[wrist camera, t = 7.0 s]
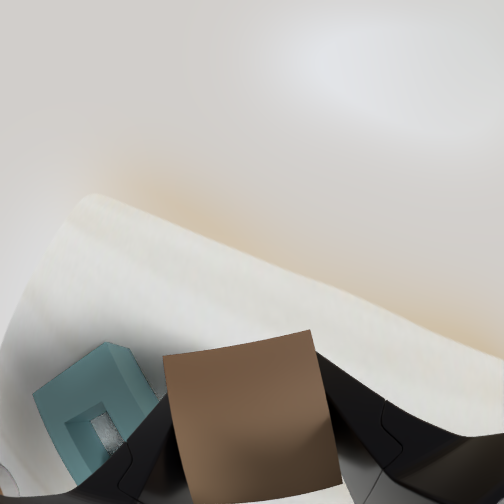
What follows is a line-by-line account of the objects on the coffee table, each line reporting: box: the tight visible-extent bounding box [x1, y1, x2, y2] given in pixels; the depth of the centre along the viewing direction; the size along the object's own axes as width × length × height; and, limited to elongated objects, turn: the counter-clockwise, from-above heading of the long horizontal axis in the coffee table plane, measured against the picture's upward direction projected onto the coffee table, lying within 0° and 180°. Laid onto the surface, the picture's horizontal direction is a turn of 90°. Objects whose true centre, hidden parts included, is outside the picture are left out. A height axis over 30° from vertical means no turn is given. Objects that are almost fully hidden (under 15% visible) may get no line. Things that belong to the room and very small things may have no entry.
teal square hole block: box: [33, 342, 159, 486], centre depth 16 cm, size 14×12×4 cm
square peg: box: [163, 330, 343, 504], centre depth 9 cm, size 4×4×10 cm
